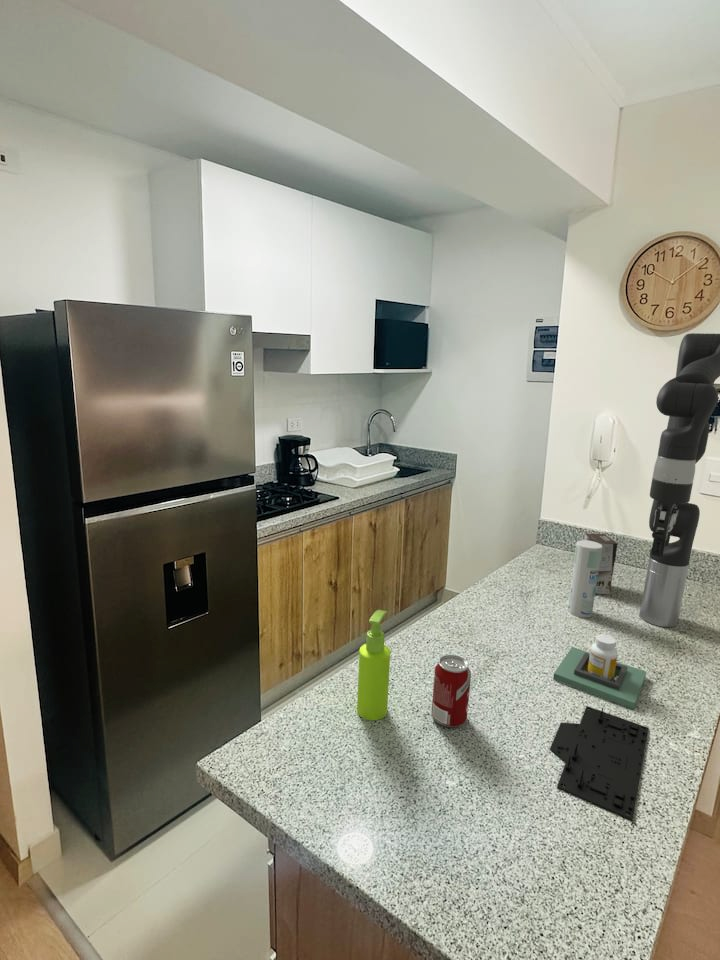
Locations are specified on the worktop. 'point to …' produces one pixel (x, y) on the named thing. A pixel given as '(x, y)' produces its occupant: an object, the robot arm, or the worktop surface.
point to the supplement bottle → (603, 657)
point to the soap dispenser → (373, 672)
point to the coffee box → (604, 561)
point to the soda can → (451, 691)
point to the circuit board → (602, 760)
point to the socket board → (601, 679)
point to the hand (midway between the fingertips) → (659, 550)
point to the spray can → (584, 578)
